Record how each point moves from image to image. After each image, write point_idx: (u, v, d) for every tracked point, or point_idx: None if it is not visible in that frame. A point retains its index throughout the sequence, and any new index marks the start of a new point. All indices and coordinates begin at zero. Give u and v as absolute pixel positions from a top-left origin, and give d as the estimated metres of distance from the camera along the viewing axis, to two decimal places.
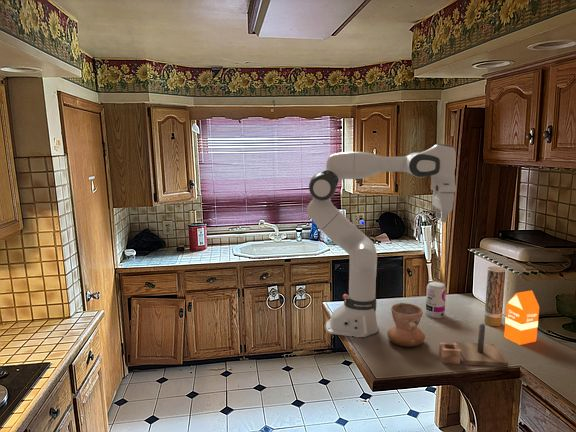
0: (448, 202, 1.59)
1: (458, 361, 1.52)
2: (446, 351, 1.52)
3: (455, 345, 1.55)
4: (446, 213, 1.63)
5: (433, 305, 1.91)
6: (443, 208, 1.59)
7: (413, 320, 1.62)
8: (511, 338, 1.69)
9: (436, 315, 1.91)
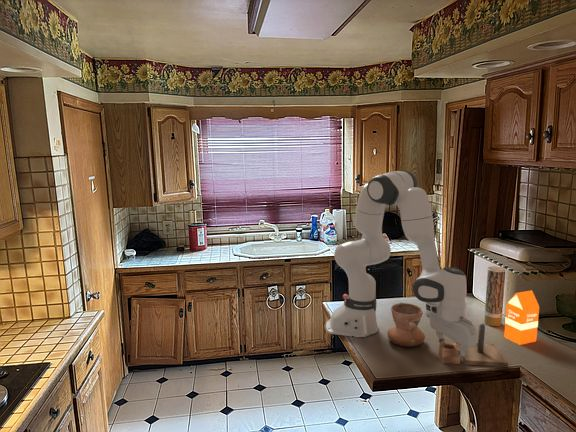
0: None
1: (458, 361, 1.52)
2: (446, 351, 1.52)
3: (455, 345, 1.56)
4: None
5: None
6: None
7: (413, 320, 1.62)
8: (511, 338, 1.69)
9: None
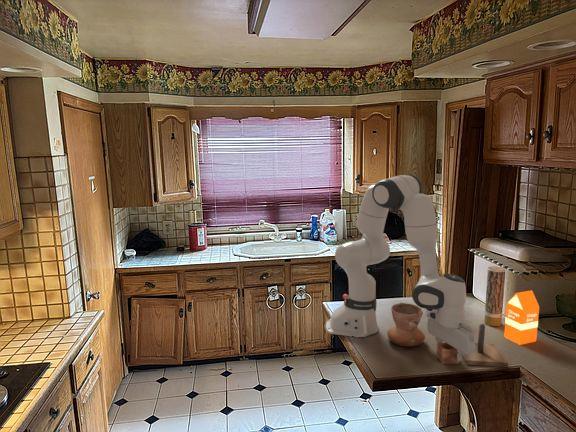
0: None
1: None
2: (446, 352, 1.52)
3: None
4: None
5: None
6: None
7: (413, 320, 1.62)
8: (511, 338, 1.69)
9: None
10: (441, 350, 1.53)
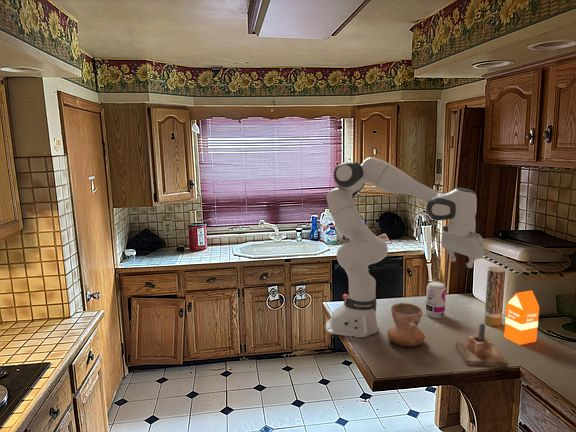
0: None
1: (490, 352, 1.55)
2: (480, 344, 1.54)
3: None
4: None
5: (433, 305, 1.91)
6: None
7: (413, 320, 1.62)
8: (511, 338, 1.69)
9: (436, 315, 1.91)
10: (474, 343, 1.55)
